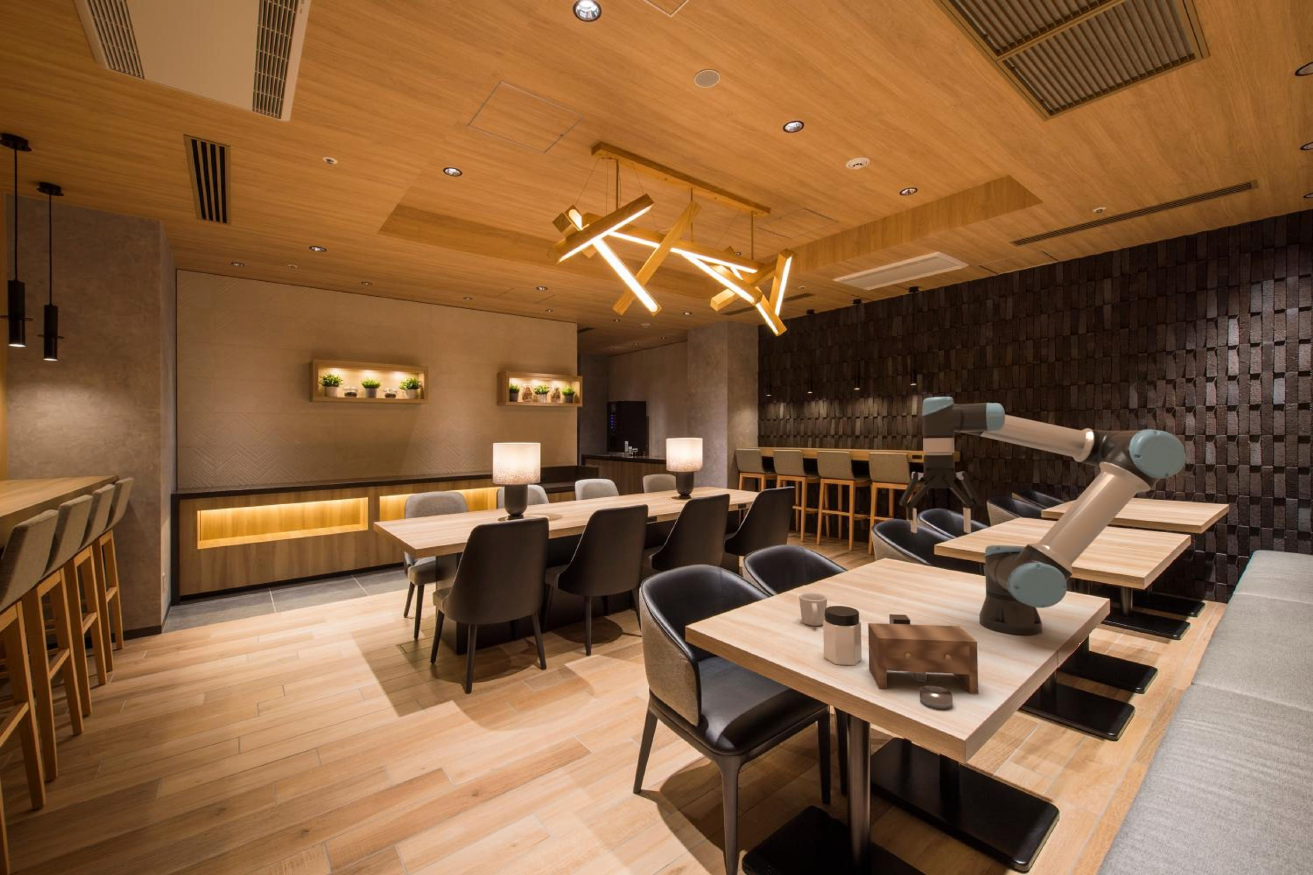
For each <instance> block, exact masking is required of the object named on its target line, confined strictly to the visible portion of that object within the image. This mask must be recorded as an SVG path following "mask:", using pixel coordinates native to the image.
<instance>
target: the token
mask: <svg viewBox="0 0 1313 875" xmlns="http://www.w3.org/2000/svg"><path fill="white" fill-rule="evenodd" d="M953 698H954V697H953V693H952V691H950V690H948V689H947V688H944V687H941V686H938V685H922V686H921V687H919V702H920V704H921V705H922V706H924V707H926V708H928V709H932V710H936V711H949V710H952V709H953V707H954V706H953V705H954V704H953V703H954V702H953Z"/></svg>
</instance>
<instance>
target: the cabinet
mask: <svg viewBox="0 0 1313 875" xmlns="http://www.w3.org/2000/svg"><path fill="white" fill-rule="evenodd" d="M867 628H868V629H867V630H868V632H867V634H868V670H869V673H870V675H871V676H872V678H873V680H874V681H875V684H876V685H877V688H878V689H879V690H881V689H882V690H888V686H887V685H888V682H887V680H888V679H887V678H888V676H887V674H888V672H908V673H910V672H926V673H929V674H930V673H931V674H934V673H935V674H950V675H951V674H952V675H953V676H954V677H955V678H956V679H957V680H958V682H959V683H960V684H961V685H962V686H963V687H964V688H965V690H966V691H968V693H969V694H975V695H976V694H977V695H979V673H978V672H979V671H978V670H979V669H978V668H979V666H978V665H979V664H978V663H979V661H978V641H977V640H976V639H975V638H974V637H972V636H971V635H970V634H969V633H968V632H966V631H965V630H964V629H963V628H962V626H960V625H938V624H935V625H934V624H933V625H932V624H931V625H930V624H911V623H910V624H890V623H881V622H879V623H875V622H874V623H873V622H868V623H867Z"/></svg>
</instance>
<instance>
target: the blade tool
mask: <svg viewBox="0 0 1313 875" xmlns="http://www.w3.org/2000/svg"><path fill="white" fill-rule="evenodd" d="M888 615H889V619H888V620H889V623H888V624H911V619H910V618H909V617H908V615H906V614H895V613H894V614H891V613H890V614H888ZM909 674H910V675H911V677H912V678H913V680H914V681H915V682H928V681H927V680H928V679H927V672H909Z"/></svg>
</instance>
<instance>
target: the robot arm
mask: <svg viewBox="0 0 1313 875" xmlns="http://www.w3.org/2000/svg"><path fill="white" fill-rule="evenodd" d="M921 410H922V413H921V419H922V439H923V440H922V442H923V443H922V445H923V446H922V447H923V448H922V449H923V450H922V452H923V453H925V455H923V457H922V458H923V472H917V471H912V472H911V474H910V481H909V482H908V484H907V486H906V488H905V491H904V492H903V494H902V497H901V498H900V500H899V502H898V503H899V505H900V506H902V507H905V508H906V518H907V520H908V521H910V532H912V533H913V534H917V533H918V529H917V528H918V521H917V518H918V517H917V515H918V514H917V508H915V506H916V505H917V504H918V502H920V500H921V499H922V498H923V497H924V496H925V494H926V493H927V492H929V491H930V490H931V489H944V490H945V489H950V490H951V491H952V493H954V494H955V495H956V497H957V498H958V499H959V500H960V501H961V502H962V503H963V504H964V505H965V506H966V507H963V509H962V510H963V511H962V512H963V532H964V533H967V534H972V524H971V523H972V521H974V520H975V509H976V508H977V507H981V506H983V504H982V501H981V499H980V497H979V496H978V494H977V492H976V490H975V489H974V487H973V485H972V483H971V482H970V480H969V474H968V472H967V471H965V470H964V471H962V470H961V471H959V472H956V471H955V470H956V469H955V465H956V464H955V455H954V454H953V453H955V436H954V435H955V433H958V434H959V433H961V434H962V433H965V434H969V435H974V436H978V437H983V438H988V439H992V440H997V441H1000V442H1005V443H1010V444H1015V445H1018V446H1021V447H1023V446H1024V447H1028V448H1032V449H1038V450H1042V451H1045V452H1049V453H1054V454H1059V455H1063V456H1068V457H1072V458H1073V460H1074V461H1075V462H1078V463H1083V464H1086V465H1090V466H1093V467H1097V468H1100V469H1099V470H1100V472H1099V474H1098V475H1097V476H1096V477H1095V478H1094V479H1093V481H1092V482H1091V483H1090V484H1089V486H1087V487H1086V488H1085V490H1084V491H1083V492H1082V493H1081V494H1080V495H1079V496H1078V497H1077V498H1076V500H1075V501H1074V502H1073V503H1072V504H1071V505H1070V507H1068V509H1067V510H1066V511H1065V512H1063V514H1062V515H1061V516H1060V518H1059V519H1058V520H1057V521H1056V522H1055V523H1054V525H1053V526H1052V527H1051V528H1050V529H1049V530H1048V531H1047V533H1045V535H1044V536H1042V538H1041V539H1040V540H1039V541H1038V542H1034V543H1027V544H1026V545H1025V546H1021V545H1000V544H999V545H996V544H995V545H993V544H991V545H987V546H986V548H985V551H984V552H985V554H984V568H985V570H984V572H985V575H984V576H985V598H984V601H983V603H982V607H981V610H980V611H979V615H978V616H979V624H980V625H982V626H983V627H985V628H987V629H989V630H993V631H996V632H999V633H1005V634H1011V635H1021V636H1023V635H1024V636H1028V635H1029V636H1031V635H1037V634H1041V633H1042V632H1043V622H1042V620H1041V616H1040V614H1039V611H1038V608H1040V609H1044V608H1049V607H1053V606H1055V605H1057V604H1058V603H1059V602H1061V601H1062V600H1063V599H1064V598H1065V596H1066V594H1067V591H1068V587H1067V581H1068V580H1069V579H1070V578H1071V577H1072V576H1073V574H1074V571H1073V567H1072V566H1073V564H1074V563H1075V562H1076V560H1077V559H1078V558H1079V557H1080V556H1081V555H1082V554H1083V553H1084V551H1085V550H1087V549H1088V547H1089V546H1090V545H1091V544H1092V543H1093V542H1094V541H1095V540H1096V538H1098V537H1099V535H1100V534H1101V533H1102V532H1103V531H1104V530H1105V529H1106V527H1107V526H1108V525H1109V524H1110V523H1111V522H1112V521H1113V520H1114V519H1115V517H1117V515H1118V514H1119V513H1120V512H1121V511H1123V509H1124V508H1125V507H1126V505H1127V504H1128V503H1129V502H1130V501H1131V500H1132V499H1133V498H1134V497H1135V496H1136V495H1137V494H1138V493H1144V492H1149V491H1151V489H1152V488H1153V487H1154V486H1155V485H1156V484H1157V483H1158V482H1159V480H1161V479H1167V478H1170V477H1172V476H1174V475H1177V474H1178V473H1179V472H1180V471H1181V470H1183V468H1184V465H1185V464H1186V460H1187V453H1186V451H1185V446H1184V444H1183V443H1182V442H1181V440H1179V438H1177V436H1175V435H1174V434H1172V433H1169V432H1167V431H1164V430H1159V429H1157V430H1156V429H1151V428H1150V429H1147V428H1146V429H1142V430H1101V429H1100V430H1099V429H1094V428H1088V427H1087V428H1084V429H1082V430H1080V429H1074V428H1069V427H1065V426H1060V425H1056V424H1052V423H1051V424H1050V423H1047V422H1041V421H1037V420H1032V419H1027V418H1023V417H1017V416H1013V415H1008V414H1006V413H1005V409H1004V407H1003V405H1002V404H1001V403H998V402H993V403H992V402H983V403H980V402H979V403H963V404H962V403H955V402H954V398H953V397H951V396H934V397H927V398H925V399H924V400H923V401H922V409H921ZM956 478H957V479H958V480H959V481H960V482H961V484H962V485H963V488H964V489H965V492H967V494H968V497H967V495H966V494H965V493H964V492H963V491H962V490H961V489H960V488H959V487H958V485H957V484H956V483H955V482H954V481H955V480H956ZM921 479H923V480H924V482H923V484H921V487H920V488H919V489H918V490H917V491H916V493H915V494H914V495H913V496H912V494H913V492H914V490H915V488H916V486H917V484H918V482H919V481H920V480H921ZM969 498H970V499H969Z"/></svg>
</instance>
